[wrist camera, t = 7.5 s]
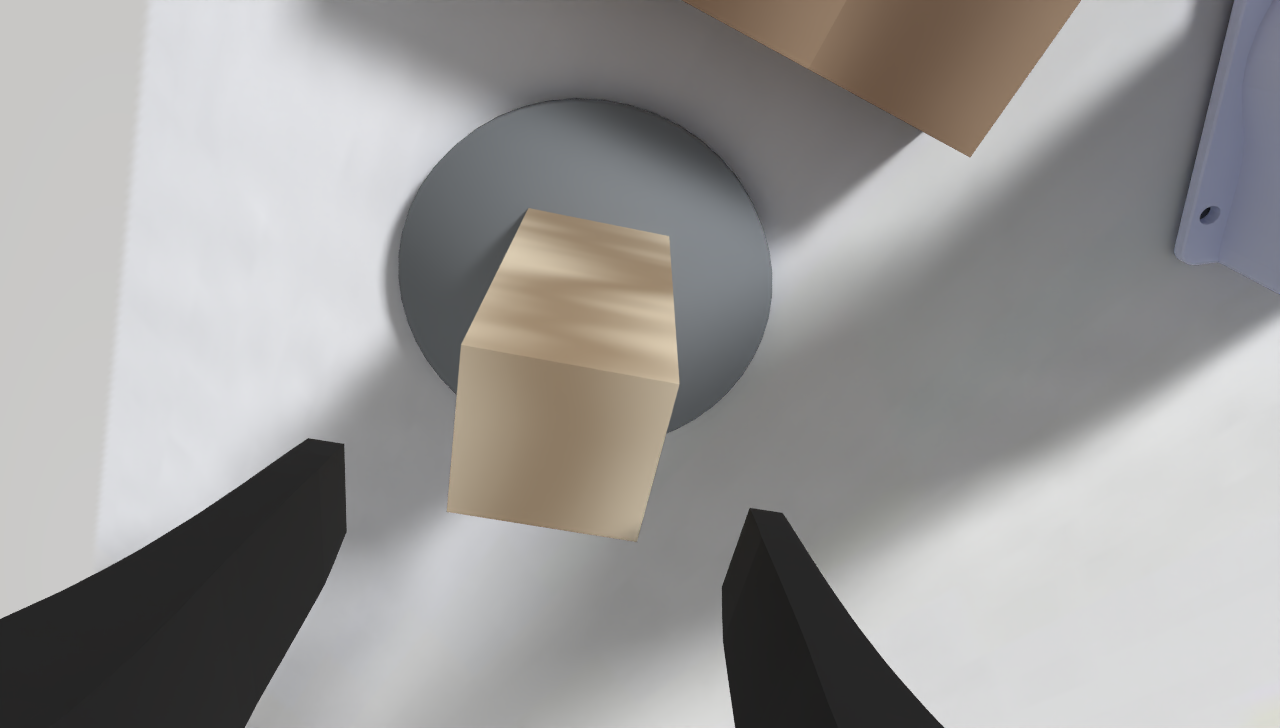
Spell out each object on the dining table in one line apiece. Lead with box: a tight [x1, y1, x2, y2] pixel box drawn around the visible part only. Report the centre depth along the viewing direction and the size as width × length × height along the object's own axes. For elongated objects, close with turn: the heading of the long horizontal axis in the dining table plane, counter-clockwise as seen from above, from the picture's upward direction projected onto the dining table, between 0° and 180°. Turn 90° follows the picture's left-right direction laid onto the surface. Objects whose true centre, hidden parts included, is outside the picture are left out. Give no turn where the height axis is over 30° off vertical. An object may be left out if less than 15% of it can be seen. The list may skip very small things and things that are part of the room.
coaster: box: [399, 98, 772, 433], centre depth 21 cm, size 11×11×1 cm
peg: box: [447, 208, 680, 542], centre depth 17 cm, size 4×4×8 cm
